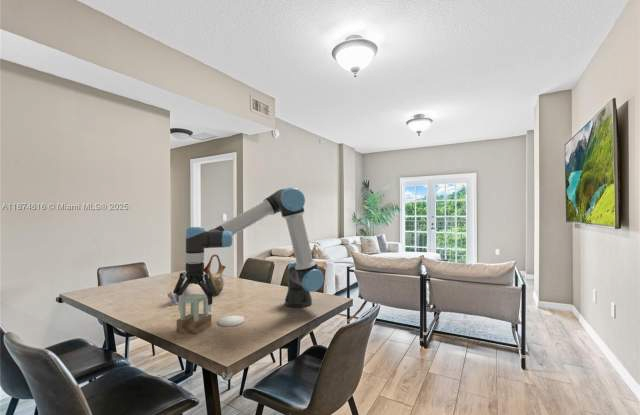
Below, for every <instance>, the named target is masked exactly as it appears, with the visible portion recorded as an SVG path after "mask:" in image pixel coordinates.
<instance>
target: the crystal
mask: <svg viewBox="0 0 640 415" xmlns="http://www.w3.org/2000/svg"><path fill="white" fill-rule="evenodd" d="M184 283H185V282H183V284H184ZM183 284H182V286H183ZM182 286H181V287H182ZM183 294H184V297H186V296H188V295H191V294H192V293H191V290H189V289H188V287H187V288H186V290H185V291H184V292H183ZM167 297H168V299H170V301H169V303H168V305H170V306H179V302H178V301H177V294H174V293H173V291H172V290H169V292H167Z"/></svg>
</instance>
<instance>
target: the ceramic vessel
mask: <svg viewBox="0 0 640 415" xmlns="http://www.w3.org/2000/svg"><path fill="white" fill-rule="evenodd" d="M214 257H216V259H217V262H218V269H217V271H216V272H215V273H214V274H213V273H212V272H211V265H212V262H213V258H214ZM226 267H227V266H225V265H223V264H222V263H221V260H220V257H219V255H218V254H215V253H214V254H213V255H211V257H210V258H209V261H208V263H207V265H205V266H204V271H203V273H204V274H210V278H211V281H212V283H213V286H214V288H215V290H216V293H217V295H215V296H218V295H220V294H221V293H222V291H223V289H224V286H225V281H224V278H223V272H224V271H225V269H226ZM205 284H206V282H205ZM206 285H207V284H206Z"/></svg>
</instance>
